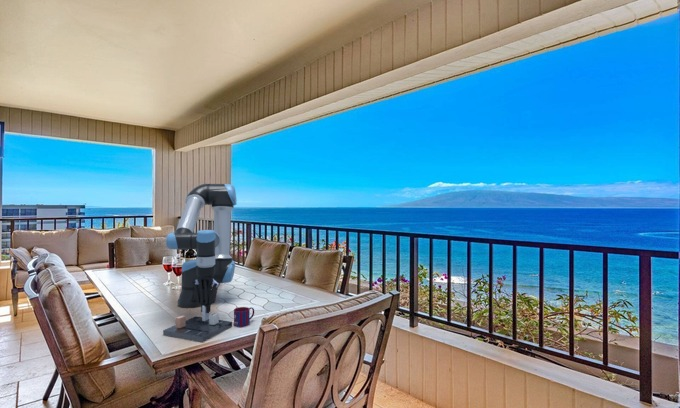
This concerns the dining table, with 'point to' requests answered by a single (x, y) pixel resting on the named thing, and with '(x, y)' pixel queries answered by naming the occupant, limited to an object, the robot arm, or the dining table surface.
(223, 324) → the dark grey slider board
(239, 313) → the mug
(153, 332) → the dining table surface
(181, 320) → the fader
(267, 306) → the dining table surface
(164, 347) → the dining table surface
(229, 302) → the dining table surface
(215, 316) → the fader
